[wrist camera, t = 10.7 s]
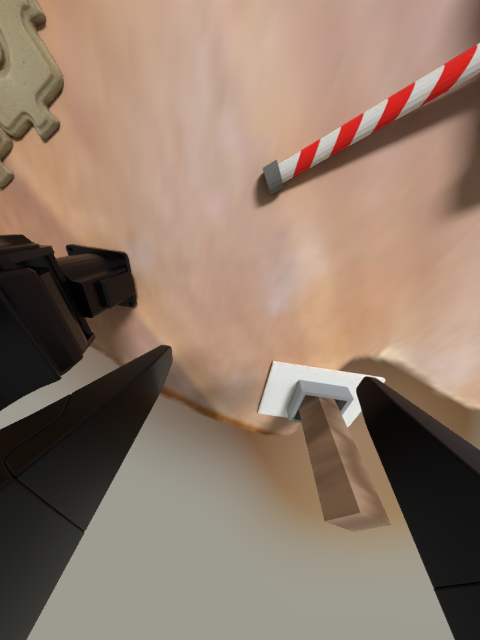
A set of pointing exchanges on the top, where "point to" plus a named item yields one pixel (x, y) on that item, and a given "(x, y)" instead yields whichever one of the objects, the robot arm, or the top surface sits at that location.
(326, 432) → the brown wooden block
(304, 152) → the toy hammer
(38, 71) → the gear puzzle
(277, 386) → the plate
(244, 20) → the top surface
